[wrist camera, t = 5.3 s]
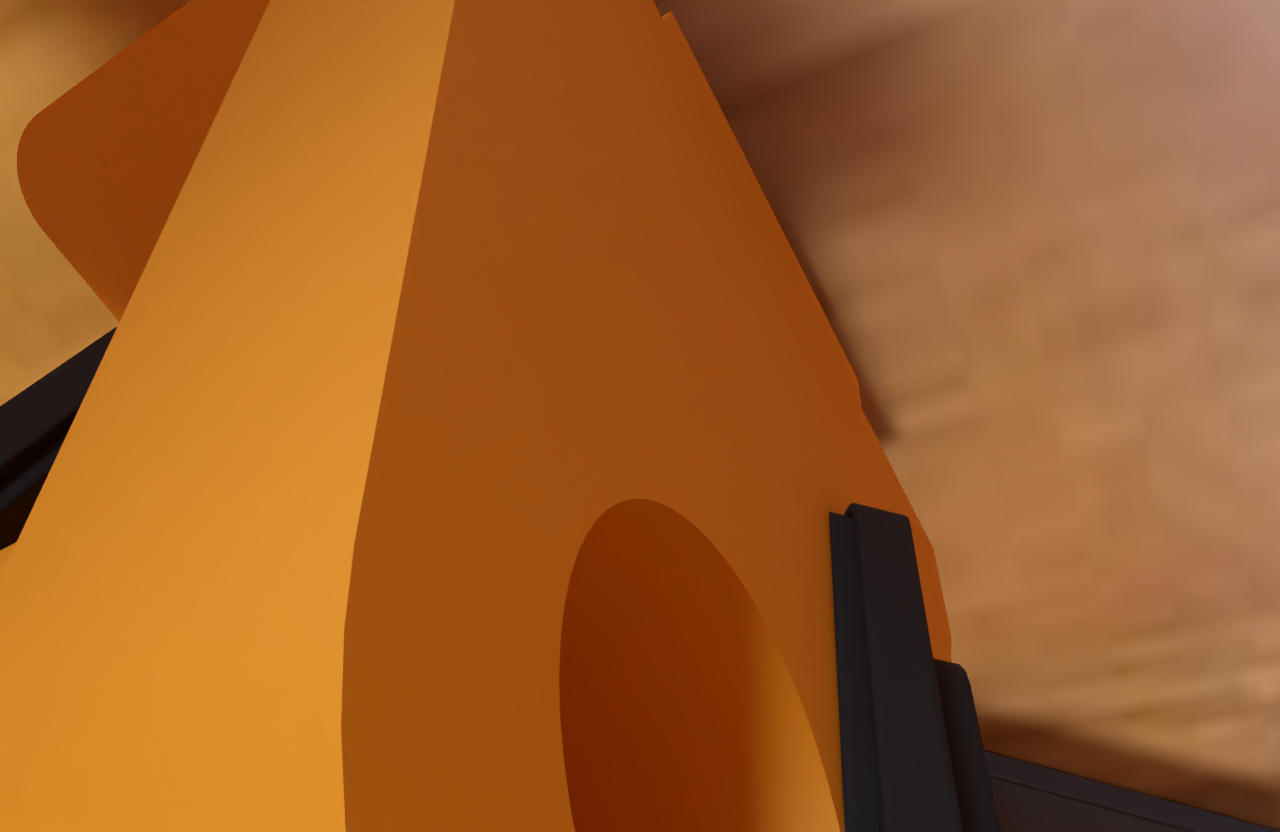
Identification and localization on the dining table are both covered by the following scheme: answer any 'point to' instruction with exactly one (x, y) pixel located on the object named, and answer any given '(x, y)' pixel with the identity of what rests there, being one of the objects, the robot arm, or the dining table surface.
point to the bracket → (430, 441)
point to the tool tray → (1089, 804)
